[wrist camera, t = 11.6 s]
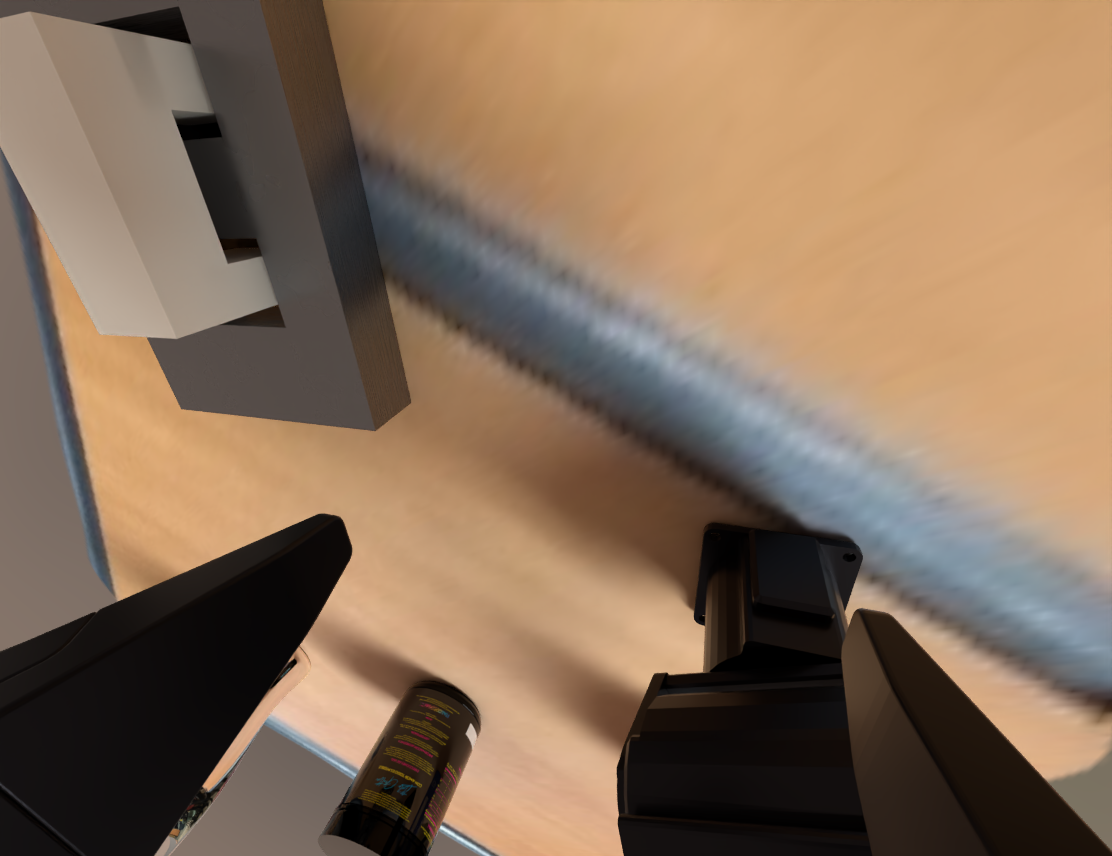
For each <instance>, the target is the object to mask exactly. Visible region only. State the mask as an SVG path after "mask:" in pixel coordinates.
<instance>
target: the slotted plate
mask: <svg viewBox="0 0 1112 856" xmlns="http://www.w3.org/2000/svg"><path fill="white" fill-rule="evenodd" d="M25 12H35V13H40V14H45V15H50V16H55V17H60V18H64V19H69V20H74V21H79V22H84V23H89V24H94V25H99V26H104V27H109V28H114V29H119V30H124V31H128V32H133V33H138V34H143V35H148V36H153V37H158V38H163V39H168V40H173V41H176V40H182V39H187V38H190V41H191V44H192V47H193V50H194V53H195V56H196V59H197V62H198V65H199V68H200V71H201V74H202V77H203V80H204V83H205V86H206V89H207V92H208V95H209V98H210V101H211V104H212V107H213V110H214V113H215V116H216V119H217V122H218V125H219V128H220V131H221V134H222V137H216V138H206V139H196V140H185V141H183V144H184V146H185V149H186V152H187V154H188V157H189V160H190V163H191V165H192V168H193V171H194V173H195V176H196V179H197V182H198V184H199V187H200V190H201V192H202V195H203V198H204V201H205V203H206V206H207V209H208V211H209V214H210V217H211V220H212V222H213V225H214V228H215V230H216V233H217V236H218V238H219V239H241V238H256V239H257V242H258V245H259V248H260V251H261V254H262V257H263V260H264V263H265V266H266V269H267V272H268V275H269V278H270V281H271V284H272V287H273V290H274V293H275V296H276V299H277V302H278V305H279V307H269V308H266V309H263V310H260V311H257V312H255V313H252V314H249V315H246V316H243V317H240V318H237V319H234V320H231V321H228V322H225V323H222V324H219V325H216V326H213V327H211V328H208V329H205V330H202V331H199V332H196V333H193V334H190V335H187V336H184V337H181V338H178V339H171V338H153V337H147V339H148V341H149V343H150V345H151V347H152V349H153V351H154V353H155V355H156V357H157V359H158V362H159V364H160V366H161V368H162V370H163V372H164V374H165V376H166V378H167V380H168V382H169V384H170V387H171V389H172V391H173V393H174V395H175V397H176V399H177V401H178V403H179V405H180V407H181V409H186V410H194V411H203V412H212V413H221V414H230V415H239V416H247V417H256V418H265V419H274V420H283V421H292V422H300V423H309V424H318V425H327V426H336V427H344V428H353V429H362V430H371V431H376V430H377V429H379V428H380V427H381V426H382V425H384V424H385V423H386V422H387V421H389V420H390V419H391V418H392V417H394V416H395V415H396V414H397V413H399V412H400V411H401V410H402V409H404V408H405V407H406V406H407V405H409V404H410V403H411V400H410V395H409V391H408V386H407V382H406V377H405V373H404V368H403V364H402V359H401V355H400V350H399V346H398V341H397V337H396V332H395V328H394V323H393V319H392V314H391V310H390V305H389V301H388V296H387V292H386V287H385V283H384V278H383V273H382V269H381V264H380V260H379V255H378V251H377V246H376V242H375V237H374V233H373V228H372V224H371V219H370V215H369V210H368V206H367V201H366V197H365V192H364V188H363V183H362V179H361V174H360V170H359V165H358V161H357V156H356V152H355V147H354V143H353V138H352V134H351V129H350V124H349V120H348V115H347V111H346V106H345V102H344V97H343V93H342V88H341V84H340V79H339V75H338V70H337V66H336V61H335V57H334V52H333V48H332V43H331V39H330V34H329V30H328V25H327V21H326V16H325V12H324V7H323V3H322V0H0V18H3V17H8V16H12V15H16V14H21V13H25Z"/></svg>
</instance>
